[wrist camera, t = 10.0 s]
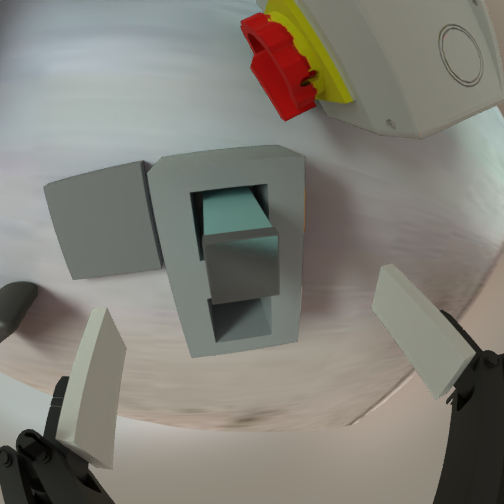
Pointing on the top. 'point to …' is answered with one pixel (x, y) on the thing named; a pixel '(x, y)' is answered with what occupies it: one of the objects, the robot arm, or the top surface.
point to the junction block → (192, 255)
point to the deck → (105, 222)
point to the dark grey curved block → (14, 305)
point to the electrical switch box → (378, 61)
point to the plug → (239, 246)
